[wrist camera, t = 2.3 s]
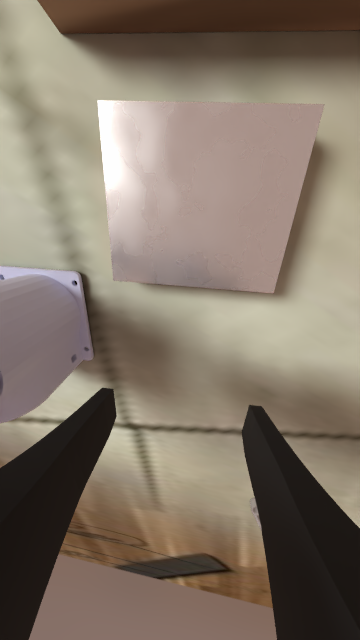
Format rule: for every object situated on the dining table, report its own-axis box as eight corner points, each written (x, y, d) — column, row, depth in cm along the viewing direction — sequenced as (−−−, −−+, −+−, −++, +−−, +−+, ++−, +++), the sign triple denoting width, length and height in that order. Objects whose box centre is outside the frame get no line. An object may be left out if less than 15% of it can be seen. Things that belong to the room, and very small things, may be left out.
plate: (261, 283, 17) (273, 293, 14) (127, 273, 17) (113, 280, 15) (297, 132, 13) (324, 104, 10) (118, 127, 13) (97, 100, 11)
